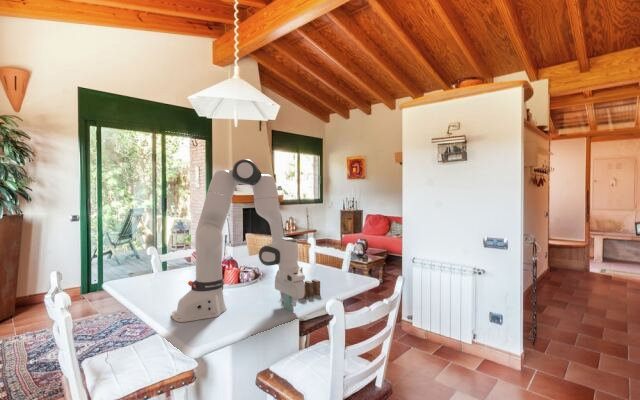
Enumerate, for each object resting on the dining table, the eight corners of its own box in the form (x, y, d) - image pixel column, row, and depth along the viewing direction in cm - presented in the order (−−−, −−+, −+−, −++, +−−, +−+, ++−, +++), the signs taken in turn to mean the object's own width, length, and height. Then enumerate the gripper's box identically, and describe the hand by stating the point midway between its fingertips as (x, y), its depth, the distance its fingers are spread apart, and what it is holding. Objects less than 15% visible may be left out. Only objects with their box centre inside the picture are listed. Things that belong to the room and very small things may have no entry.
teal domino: (289, 310, 146) (289, 295, 145) (284, 307, 149) (284, 292, 149) (293, 309, 147) (293, 294, 147) (288, 306, 150) (288, 291, 150)
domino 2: (309, 297, 164) (309, 283, 164) (304, 294, 168) (304, 281, 167) (313, 296, 165) (313, 282, 165) (308, 294, 169) (308, 280, 169)
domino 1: (302, 298, 161) (302, 284, 161) (297, 296, 165) (297, 282, 165) (305, 298, 163) (305, 284, 162) (301, 295, 166) (300, 282, 166)
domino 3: (316, 295, 167) (316, 281, 167) (311, 293, 170) (311, 279, 170) (320, 294, 168) (320, 281, 168) (315, 292, 172) (315, 279, 171)
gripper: (271, 269, 154) (271, 298, 154) (294, 279, 138) (295, 311, 138) (282, 268, 158) (282, 296, 158) (307, 276, 142) (307, 308, 142)
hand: (288, 303), depth 148 cm, fingers open, 7 cm apart
